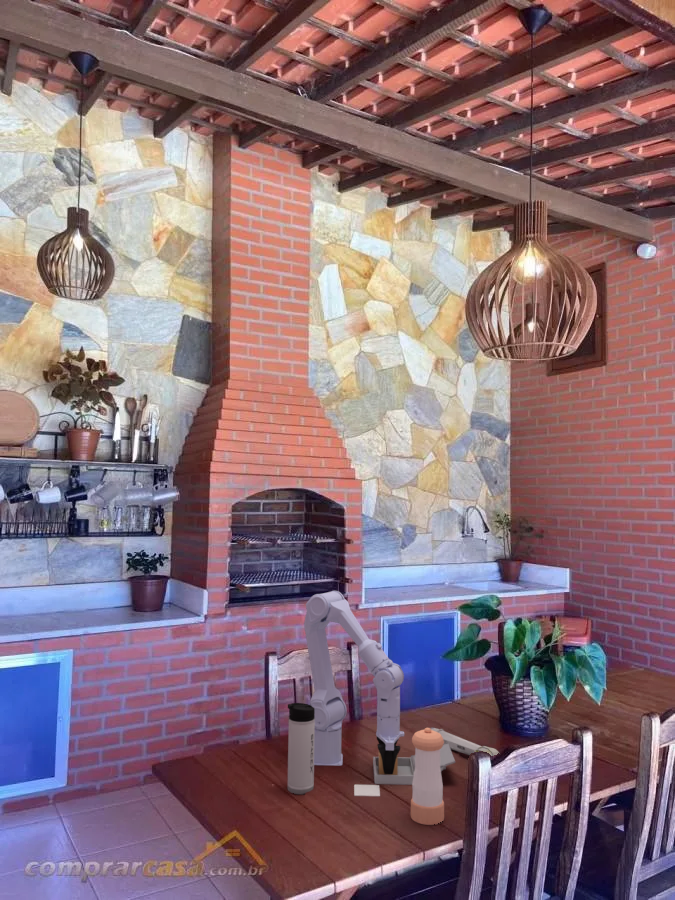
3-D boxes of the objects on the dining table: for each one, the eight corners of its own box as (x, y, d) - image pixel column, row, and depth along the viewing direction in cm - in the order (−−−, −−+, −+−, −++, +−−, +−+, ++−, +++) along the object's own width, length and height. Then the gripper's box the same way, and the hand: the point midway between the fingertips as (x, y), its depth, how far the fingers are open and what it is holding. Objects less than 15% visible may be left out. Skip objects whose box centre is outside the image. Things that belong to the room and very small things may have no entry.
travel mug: (282, 786, 169) (284, 701, 170) (308, 782, 171) (310, 699, 172) (290, 796, 163) (292, 709, 164) (317, 792, 165) (318, 706, 166)
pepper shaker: (403, 816, 153) (404, 727, 155) (424, 806, 159) (425, 720, 160) (430, 828, 148) (430, 736, 149) (450, 817, 153) (451, 728, 155)
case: (374, 787, 169) (375, 760, 169) (373, 766, 182) (373, 741, 182) (455, 788, 168) (456, 762, 169) (448, 768, 181) (448, 743, 182)
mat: (354, 797, 163) (354, 795, 163) (354, 787, 169) (354, 784, 169) (380, 798, 163) (380, 795, 163) (379, 787, 169) (379, 785, 169)
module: (379, 777, 173) (379, 753, 174) (378, 770, 178) (378, 746, 178) (397, 778, 173) (397, 753, 174) (396, 770, 178) (396, 747, 178)
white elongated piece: (436, 742, 202) (506, 767, 182) (420, 747, 198) (490, 773, 178) (436, 723, 202) (506, 746, 183) (420, 728, 198) (489, 752, 178)
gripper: (406, 724, 169) (406, 781, 168) (402, 706, 184) (401, 759, 183) (377, 723, 169) (376, 781, 168) (375, 705, 184) (374, 758, 183)
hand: (387, 769), depth 176 cm, fingers closed on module, 4 cm apart
